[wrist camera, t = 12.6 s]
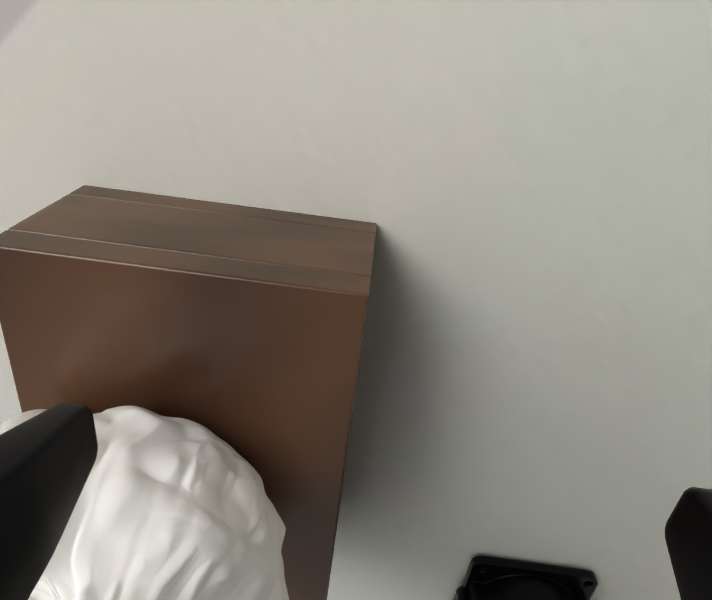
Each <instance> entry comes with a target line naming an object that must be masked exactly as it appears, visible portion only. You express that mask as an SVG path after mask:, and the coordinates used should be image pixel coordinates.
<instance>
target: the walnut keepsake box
mask: <svg viewBox="0 0 712 600" xmlns="http://www.w3.org/2000/svg"><path fill="white" fill-rule="evenodd" d="M376 226H377V224H376V223H369V222H361V221H354V220H346V219H338V218H331V217H323V216H315V215H308V214H300V213H292V212H285V211H277V210H269V209H262V208H254V207H246V206H239V205H231V204H223V203H215V202H208V201H200V200H192V199H185V198H177V197H169V196H162V195H154V194H146V193H139V192H131V191H123V190H116V189H108V188H100V187H93V186H85V185H84V186H82V187H80V188H78V189H77V190H75V191H73V192H71V193H70V194H68V195H67V196H65V197H63V198H61V199H60V200H58V201H56V202H54V203H53V204H51V205H49V206H47V207H46V208H44V209H42V210H40V211H39V212H37V213H35V214H33V215H32V216H30V217H28V218H26V219H25V220H23V221H21V222H19V223H18V224H16V225H14V226H12V227H11V228H9V230H6V231H4V232H3V233H1V234H0V323H1V327H2V331H3V335H4V339H5V343H6V348H7V352H8V356H9V360H10V364H11V368H12V372H13V377H14V381H15V385H16V389H17V393H18V397H19V402H20V406H21V410H22V413H23V412H26V411H30V410H35V409H50V408H51V407H53V406H55V405H57V404H60V403H73V404H80V405H86V406H88V407H90V409H91V410H92V413H93V414H95V413H101V412H103V411H105V410H107V409H110V408H114V407H119V406H138V407H142V408H145V409H148V410H150V411H152V412H154V413H156V414H158V415H161V416H166V417H177V418H184V419H188V420H191V421H194V422H196V423H199V424H201V425H203V426H204V427H206V428H208V429H209V430H210V431H211V432H213V433H214V434H215V435H216V436H218V437H219V438H220V439H222V440H223V441H225V442H226V443H228V444H229V445H230V446H231V447H232V448H233V449H234V450H235V451H236V452H237V453H238V454H239V455H240V456H242V457H243V458H244V459H245V460H246V461H247V462H248V463H249V464H250V465H251V466H252V467H253V468H254V469H255V470H256V471H257V472H258V473H259V475H260V477H261V479H262V481H263V485H264V490H265V493H266V495H267V497H268V498H269V500H270V501H271V502H272V504H273V505H274V507H275V509H276V511H277V513H278V514H279V516H280V518H281V519H282V521H283V523H284V525H285V528H286V531H285V536H284V540H283V544H282V548H281V554H282V558H283V564H284V577H285V583H286V588H287V592H288V596H289V600H327V595H328V588H329V580H330V573H331V566H332V559H333V551H334V544H335V537H336V530H337V523H338V515H339V508H340V501H341V494H342V487H343V479H344V472H345V465H346V458H347V450H348V443H349V436H350V429H351V422H352V414H353V407H354V400H355V393H356V385H357V378H358V371H359V364H360V357H361V349H362V342H363V335H364V328H365V321H366V313H367V306H368V299H369V290H370V281H371V272H372V263H373V254H374V245H375V235H376Z"/></svg>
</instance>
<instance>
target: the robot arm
mask: <svg viewBox="0 0 712 600" xmlns="http://www.w3.org/2000/svg"><path fill="white" fill-rule="evenodd" d="M97 452H98V443H97V436H96V430H95V424H94V418H93V413H92V410H91V409H90V407H88V406H86V405H80V404H73V403H60V404H57V405H55V406H53V407H51V408H50V409H48V410H46V411H44V412H42V413H40V414H38V415H36V416H34V417H32V418H31V419H29V420H27V421H25V422H23V423H21V424H19V425H17V426H15V427H14V428H12V429H10V430H8V431H6V432H4V433H2V434H0V600H28V598H29V597H30V595H31V593H32V591H33V590H34V588H35V586H36V584H37V583H38V581H39V579H40V578H41V576H42V574H43V572H44V570H45V569H46V567H47V565H48V563H49V561H50V560H51V558H52V556H53V554H54V552H55V549H56V547H57V545H58V543H59V541H60V539H61V537H62V534H63V532H64V530H65V528H66V526H67V523H68V521H69V519H70V517H71V514H72V512H73V510H74V508H75V505H76V503H77V501H78V499H79V497H80V494H81V492H82V490H83V488H84V485H85V483H86V481H87V479H88V476H89V474H90V472H91V470H92V467H93V465H94V463H95V460H96V457H97ZM665 539H666V543H667V547H668V551H669V555H670V559H671V563H672V566H673V570H674V574H675V578H676V582H677V586H678V589H679V593H680V597H681V600H712V489H704V488H697V487H691V488H688V489H687V490H685V491H684V493H683V494H682V496H681V498H680V500H679V501H678V503H677V505H676V507H675V508H674V510H673V512H672V514H671V515H670V517H669V519H668V521H667V523H666V527H665ZM597 584H598V582H597V579H596V576H595V574H594V573H593V572H592V571H588V570H581V569H573V568H566V567H559V566H551V565H544V564H537V563H529V562H522V561H515V560H507V559H500V558H493V557H485V556H477V557H474V558H473V559H472V560H471V562H470V565H469V568H468V571H467V574H466V577H465V580H464V583H463V586H460V587H459V588H458V589H457V590H456V594H455V597H454V600H590V598H591V596H592V594H593V592H594V590H595V588H596V586H597Z"/></svg>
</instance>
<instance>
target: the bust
mask: <svg viewBox="0 0 712 600" xmlns="http://www.w3.org/2000/svg"><path fill="white" fill-rule="evenodd" d="M46 410H48V409H35V410H30V411H26V412H23V413H21V414H18V415H16V416H14V417H12V418H10V419H9V420H7V421H4V422H1V423H0V434H2V433H4V432H6V431H8V430H10V429H12V428H14V427H15V426H17V425H19V424H21V423H23V422H25V421H27V420H29V419H31V418H32V417H34V416H36V415H38V414H40V413H42V412H44V411H46ZM93 418H94V424H95V430H96V436H97V443H98V452H97V457H96V460H95V463H94V465H93V467H92V470H91V472H90V474H89V476H88V479H87V481H86V483H85V485H84V488H83V490H82V492H81V494H80V497H79V499H78V501H77V503H76V505H75V508H74V510H73V512H72V514H71V517H70V519H69V521H68V523H67V526H66V528H65V530H64V532H63V534H62V537H61V539H60V541H59V543H58V545H57V547H56V549H55V552H54V554H53V556H52V558H51V560H50V561H49V563H48V565H47V567H46V569H45V570H44V572H43V574H42V576H41V578H40V579H39V581H38V583H37V584H36V586H35V588H34V590H33V591H32V593H31V595H30V597H33V598H35V599H36V600H289V596H288V592H287V588H286V583H285V577H284V564H283V558H282V554H281V548H282V544H283V540H284V536H285V531H286V528H285V525H284V523H283V521H282V519H281V518H280V516H279V514H278V513H277V511H276V509H275V507H274V505H273V504H272V502H271V501H270V500H269V498H268V497H267V495H266V493H265V490H264V485H263V481H262V479H261V477H260V475H259V473H258V472H257V471H256V470H255V469H254V468H253V467H252V466H251V465H250V464H249V463H248V462H247V461H246V460H245V459H244V458H243V457H242V456H240V455H239V454H238V453H237V452H236V451H235V450H234V449H233V448H232V447H231V446H230V445H229V444H228V443H226V442H225V441H223V440H222V439H220V438H219V437H218V436H216V435H215V434H214V433H213V432H211V431H210V430H209V429H208V428H206V427H204V426H203V425H201V424H199V423H196V422H194V421H191V420H188V419H184V418H177V417H166V416H161V415H158V414H156V413H154V412H152V411H150V410H148V409H145V408H142V407H138V406H119V407H114V408H110V409H107V410H105V411H103V412H101V413H95V414H93Z"/></svg>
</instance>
